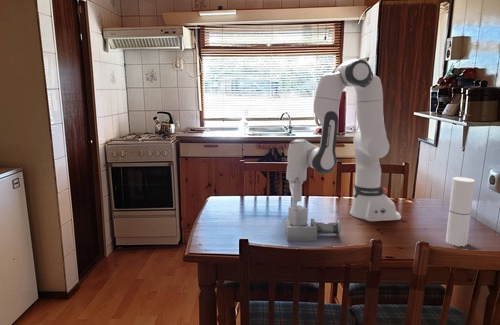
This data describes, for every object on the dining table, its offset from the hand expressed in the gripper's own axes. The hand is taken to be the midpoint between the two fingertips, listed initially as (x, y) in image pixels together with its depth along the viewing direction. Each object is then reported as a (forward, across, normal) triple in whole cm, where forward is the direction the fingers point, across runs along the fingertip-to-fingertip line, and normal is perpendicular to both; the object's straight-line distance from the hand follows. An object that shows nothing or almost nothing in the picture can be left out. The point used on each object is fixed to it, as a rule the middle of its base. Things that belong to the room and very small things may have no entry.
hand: (294, 205), depth 165 cm
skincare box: (+6, -7, -1) cm, 10 cm away
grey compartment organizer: (+6, -21, -6) cm, 22 cm away
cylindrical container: (+5, -25, -60) cm, 65 cm away
